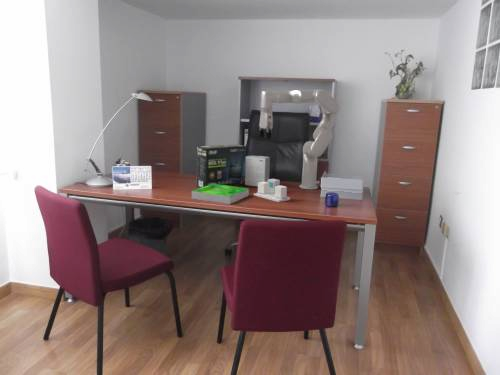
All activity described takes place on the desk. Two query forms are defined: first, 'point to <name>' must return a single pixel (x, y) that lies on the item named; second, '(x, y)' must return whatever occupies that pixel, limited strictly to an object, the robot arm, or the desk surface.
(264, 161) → the hard drive box
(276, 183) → the block
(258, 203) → the desk surface
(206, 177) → the router box
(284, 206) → the desk surface
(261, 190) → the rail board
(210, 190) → the tray
